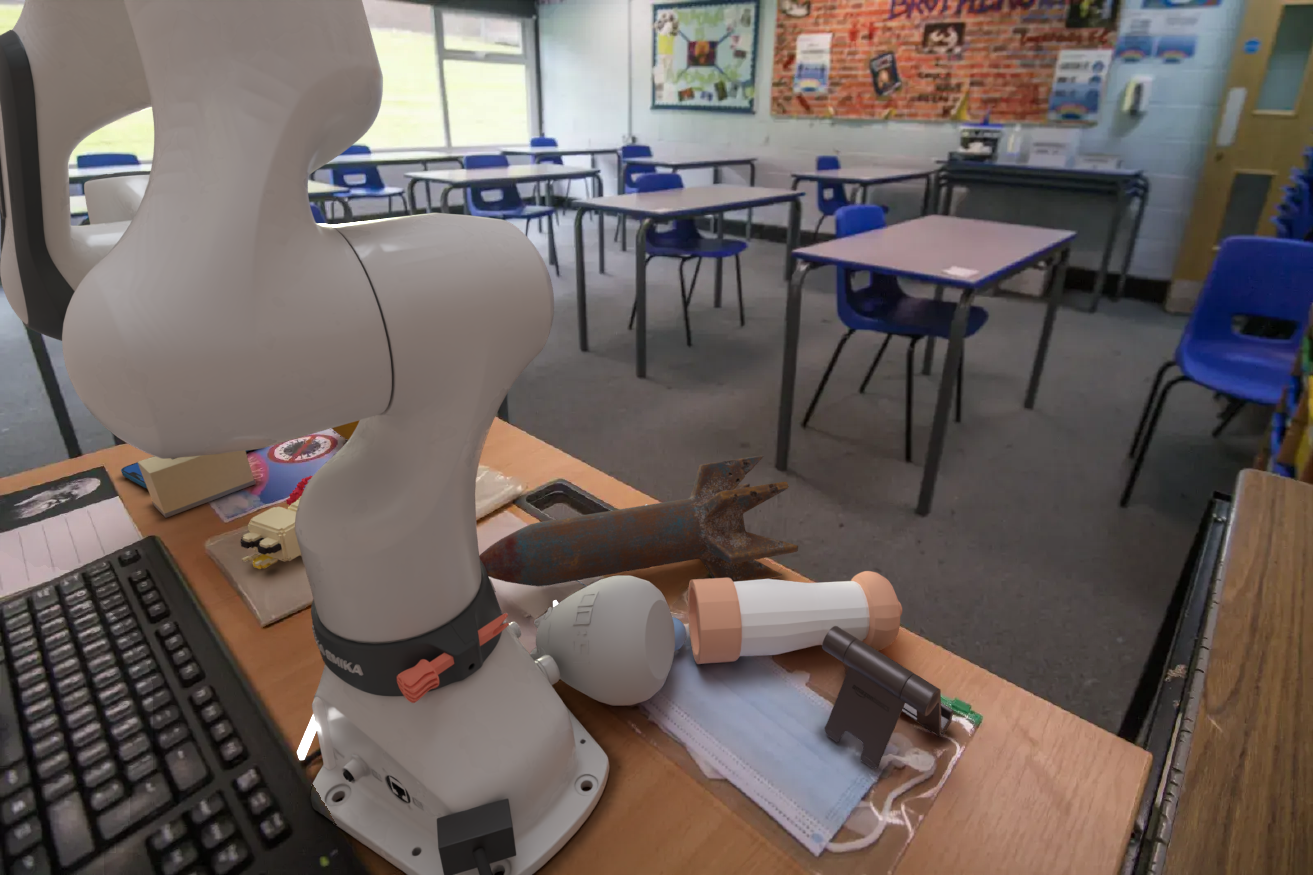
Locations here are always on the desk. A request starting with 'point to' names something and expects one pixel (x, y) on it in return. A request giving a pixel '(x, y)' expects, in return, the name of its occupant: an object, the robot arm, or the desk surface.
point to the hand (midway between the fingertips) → (210, 436)
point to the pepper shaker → (787, 615)
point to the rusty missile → (648, 536)
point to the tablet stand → (878, 697)
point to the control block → (194, 479)
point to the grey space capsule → (610, 640)
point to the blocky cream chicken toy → (274, 532)
